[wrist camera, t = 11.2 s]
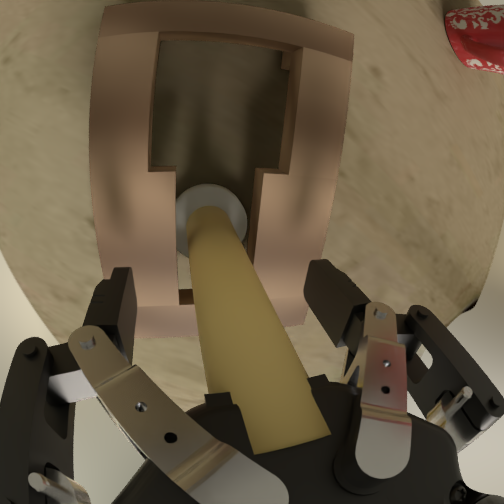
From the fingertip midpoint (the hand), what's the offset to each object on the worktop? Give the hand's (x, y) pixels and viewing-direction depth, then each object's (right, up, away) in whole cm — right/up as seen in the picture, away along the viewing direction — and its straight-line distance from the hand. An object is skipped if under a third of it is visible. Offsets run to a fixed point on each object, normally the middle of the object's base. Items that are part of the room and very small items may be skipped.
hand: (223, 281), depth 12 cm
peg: (-2, +3, +6) cm, 7 cm away
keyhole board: (-2, +7, +5) cm, 8 cm away
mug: (+22, +23, +3) cm, 32 cm away
